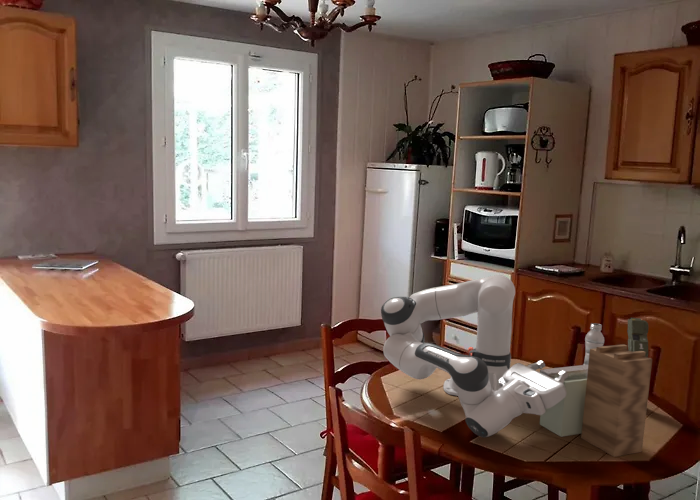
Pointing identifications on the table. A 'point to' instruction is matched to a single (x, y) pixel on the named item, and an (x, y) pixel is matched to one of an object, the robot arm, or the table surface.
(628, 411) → the wood grain block
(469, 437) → the table surface
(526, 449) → the table surface
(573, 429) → the shelf block
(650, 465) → the table surface
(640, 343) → the mechanical leg
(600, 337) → the plastic bottle
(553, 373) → the link bar
